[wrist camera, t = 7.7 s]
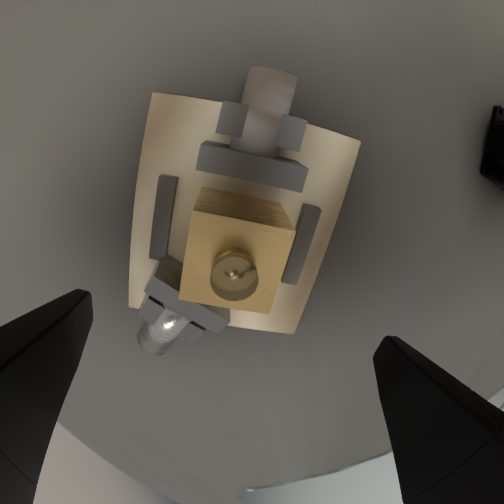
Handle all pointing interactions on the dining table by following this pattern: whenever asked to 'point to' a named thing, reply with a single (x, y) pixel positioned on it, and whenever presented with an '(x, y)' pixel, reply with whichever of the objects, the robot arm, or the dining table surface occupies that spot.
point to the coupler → (235, 251)
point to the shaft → (174, 311)
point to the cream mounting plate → (240, 182)
